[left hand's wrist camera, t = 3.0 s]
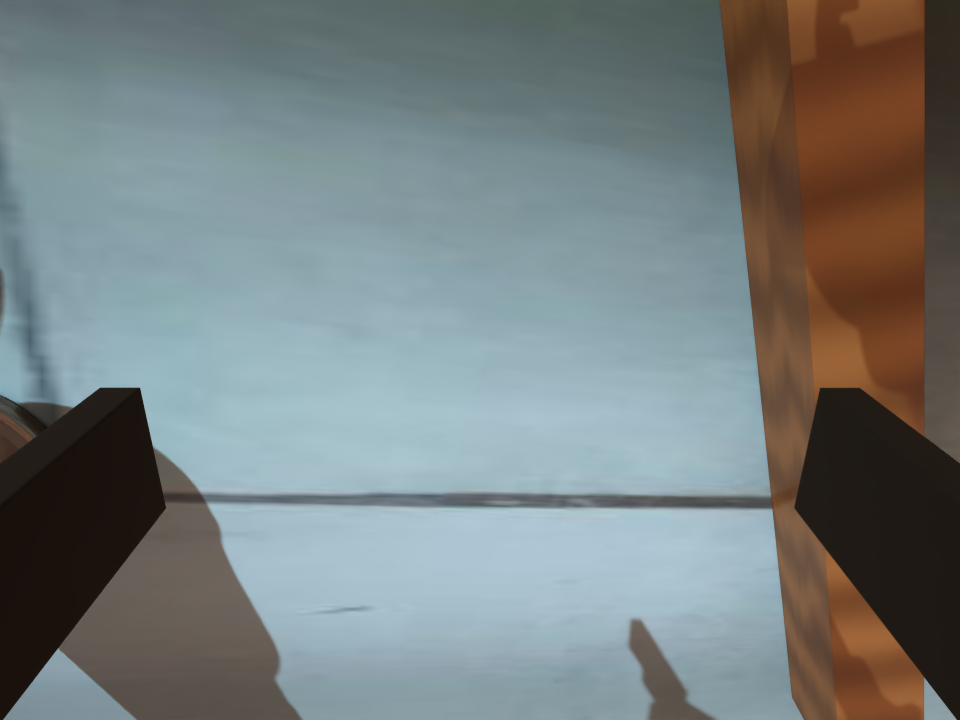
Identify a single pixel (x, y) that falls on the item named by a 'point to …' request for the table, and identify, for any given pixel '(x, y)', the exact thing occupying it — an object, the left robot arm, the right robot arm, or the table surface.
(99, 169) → the table surface
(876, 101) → the post
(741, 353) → the table surface
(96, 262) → the table surface
